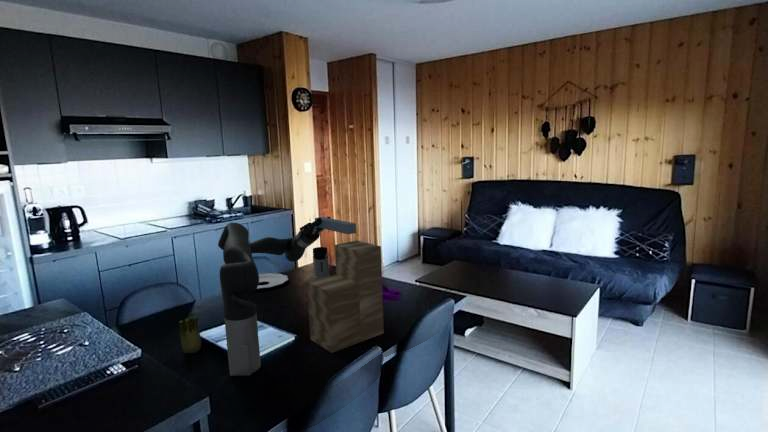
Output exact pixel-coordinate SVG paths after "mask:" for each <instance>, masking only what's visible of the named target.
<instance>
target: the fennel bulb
mask: <svg viewBox="0 0 768 432" xmlns="http://www.w3.org/2000/svg"><path fill="white" fill-rule="evenodd" d="M198 322H199V321H198V316H189V317H188V318H186V319H185V320H184V321H183V320H180V321H179V322H178V325H179V331H180V333H179V334H180V346H181V349H182V351H183V353H184V354H195V353H197V352H199V351H200V349H201V347H202V338H201V337H202V336H201V334H200V329H199V323H198Z"/></svg>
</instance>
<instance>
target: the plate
mask: <svg viewBox="0 0 768 432" xmlns="http://www.w3.org/2000/svg"><path fill="white" fill-rule="evenodd" d="M258 274H259V283H263V282H267V283H268V284H263V285H259V284H258V287H257V289H256V290H257V291H261V290H268V289H272V288H276V287H278V286H281V285H283V284H285V283H286V282H288V281H289V278H288V277H289V276H288V275H286V274H282V273H258ZM256 290H255V291H256Z"/></svg>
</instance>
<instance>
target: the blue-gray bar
mask: <svg viewBox="0 0 768 432" xmlns="http://www.w3.org/2000/svg"><path fill="white" fill-rule="evenodd" d="M318 218H321V220H322V223H321V224H320V225H319V226H317V227H319V228H323V229H324V230H326V231H332V232H336V233H340V234H345V235H353V234H357V223H355V222H351V221H350V222H349V221H346V220H340V219H335V218H331V217H330V218H327V216H326V217H325V216H318V217H315V218H314V221H316V220H317V219H318Z"/></svg>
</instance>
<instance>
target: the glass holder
mask: <svg viewBox="0 0 768 432" xmlns="http://www.w3.org/2000/svg"><path fill="white" fill-rule="evenodd" d="M312 264H313V265H312V266H313V267H312V268H313V276H312V277H313V279H320V278H324V277H328V276H331V274H330V273H329V270H330V268H331V264H332V256H331V254H330V253H328V247H325V246H318V247H313V248H312Z"/></svg>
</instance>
